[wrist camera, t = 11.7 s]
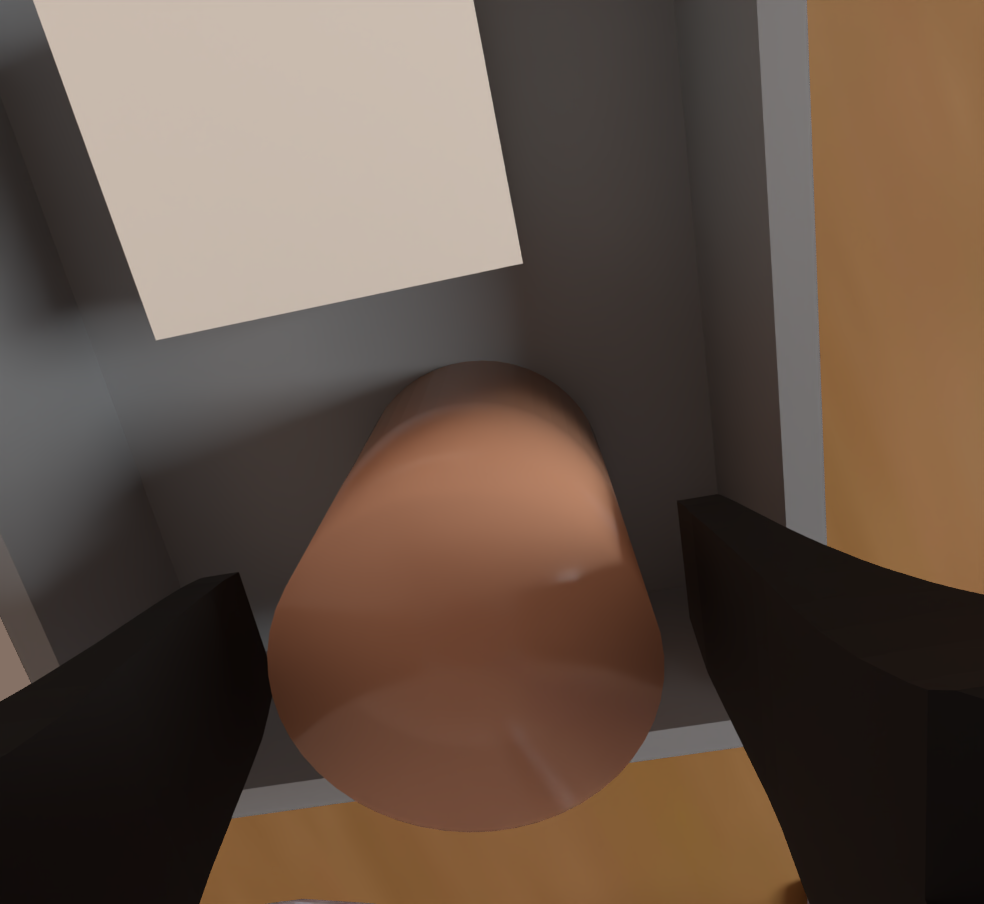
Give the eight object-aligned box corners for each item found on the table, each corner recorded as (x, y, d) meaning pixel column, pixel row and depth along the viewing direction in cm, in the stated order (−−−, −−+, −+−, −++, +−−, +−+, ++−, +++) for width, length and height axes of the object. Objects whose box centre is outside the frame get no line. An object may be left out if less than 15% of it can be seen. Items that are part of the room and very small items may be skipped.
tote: (746, 585, 18) (833, 734, 13) (200, 669, 19) (102, 836, 14) (671, -368, 12) (780, -698, 8) (-118, -180, 13) (-459, -370, 8)
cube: (514, 230, 15) (523, 263, 10) (261, 284, 15) (155, 339, 10) (457, -74, 13) (435, -204, 8) (172, -4, 13) (0, -92, 9)
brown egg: (625, 553, 17) (697, 791, 10) (406, 604, 18) (343, 862, 11) (571, 332, 15) (616, 447, 9) (332, 396, 16) (206, 548, 9)
